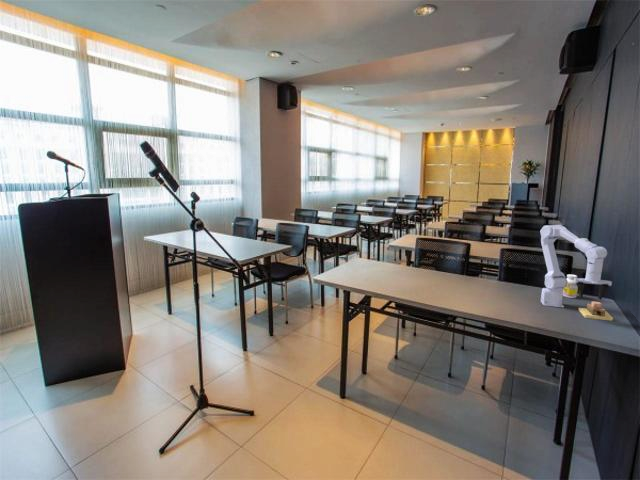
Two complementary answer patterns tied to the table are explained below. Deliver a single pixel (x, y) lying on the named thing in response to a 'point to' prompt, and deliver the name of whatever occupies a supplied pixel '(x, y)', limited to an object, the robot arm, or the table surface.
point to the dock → (597, 316)
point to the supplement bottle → (570, 287)
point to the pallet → (596, 310)
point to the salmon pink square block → (596, 304)
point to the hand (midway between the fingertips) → (590, 297)
